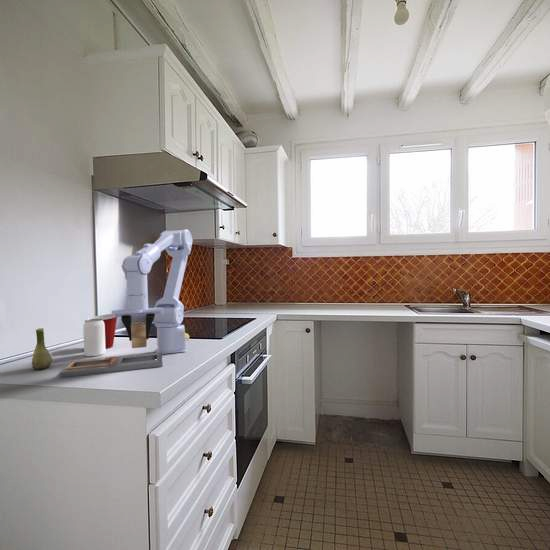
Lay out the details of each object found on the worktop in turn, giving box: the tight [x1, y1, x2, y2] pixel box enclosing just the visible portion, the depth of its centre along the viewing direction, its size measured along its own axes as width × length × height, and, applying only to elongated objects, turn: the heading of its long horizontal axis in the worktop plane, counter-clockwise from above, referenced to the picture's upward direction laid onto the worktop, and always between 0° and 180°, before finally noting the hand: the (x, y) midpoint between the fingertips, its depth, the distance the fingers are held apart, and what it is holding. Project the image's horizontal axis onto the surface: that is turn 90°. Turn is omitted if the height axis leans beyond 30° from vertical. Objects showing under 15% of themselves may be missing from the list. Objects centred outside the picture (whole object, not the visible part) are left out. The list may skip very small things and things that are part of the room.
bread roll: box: [185, 332, 190, 342], centre depth 135 cm, size 8×9×4 cm
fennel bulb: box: [31, 327, 53, 371], centre depth 100 cm, size 6×5×12 cm
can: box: [82, 319, 107, 358], centre depth 115 cm, size 6×6×12 cm
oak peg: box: [131, 321, 148, 349], centre depth 102 cm, size 4×4×7 cm
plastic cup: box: [85, 313, 118, 349], centre depth 125 cm, size 11×11×12 cm
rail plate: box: [59, 352, 164, 379], centre depth 100 cm, size 26×12×2 cm, turn 109°
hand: (139, 339), depth 102 cm, fingers closed on oak peg, 4 cm apart
